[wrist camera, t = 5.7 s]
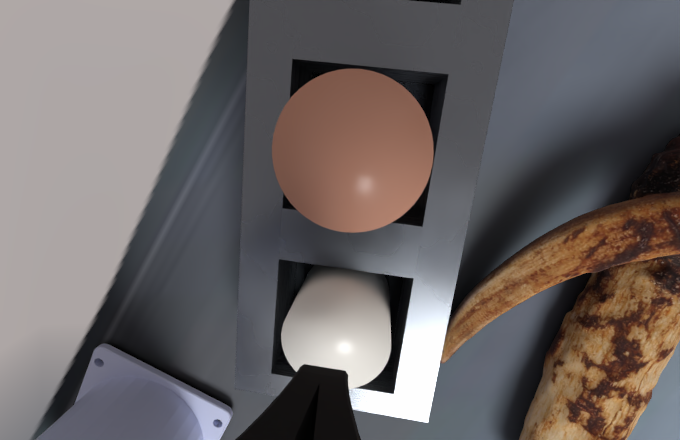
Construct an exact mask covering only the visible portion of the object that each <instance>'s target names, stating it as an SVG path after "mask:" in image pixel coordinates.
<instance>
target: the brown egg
mask: <svg viewBox="0 0 680 440" xmlns="http://www.w3.org/2000/svg"><path fill="white" fill-rule="evenodd" d="M433 155H434V150H433V138H432V132H431V129H430V125H429V122H428V120H427V117H426V115H425V113H424V111H423V109H422V108H421V106H420V105H419V103H418V101H417V100H416V99H415V98H414V97H413V96H412V94H411V93H410V92H409V91H408V90H406V89H405V88H404V87H403V86H402V85H401V84H399V83H398V82H396V81H395V80H393V79H391V78H389V77H387V76H385V75H383V74H380V73H377V72H374V71H370V70H364V69H341V70H336V71H332V72H328V73H325V74H323V75H320V76H318V77H316V78H314V79H313V80H311V81H309V82H308V83H306V84H305V85H304V86H302V87H301V88H300V89H299V90H298V91H297V92H296V93H295V94H294V95H293V96H292V97H291V98H290V100H289V101H288V102H287V104H286V105H285V107H284V108H283V110H282V112H281V114H280V116H279V118H278V121H277V123H276V127H275V130H274V134H273V142H272V159H273V167H274V171H275V174H276V178H277V180H278V183H279V185H280V187H281V189H282V191H283V193H284V194H285V196H286V197H287V199H288V200H289V201H290V203H291V204H292V205H293V206H294V207H295V208H296V209H297V210H298V211H299V212H300V213H301V214H302V215H304V216H305V217H306V218H308V219H309V220H311V221H312V222H314V223H316V224H318V225H320V226H322V227H325V228H328V229H331V230H335V231H340V232H349V233H356V232H366V231H371V230H375V229H378V228H381V227H384V226H386V225H388V224H390V223H392V222H393V221H395V220H397V219H398V218H400V217H401V216H402V215H403V214H405V213H406V212H407V211H408V210H409V209H410V208H411V207H412V206H413V205H414V204H415V202H416V201H417V200H418V198H419V197H420V196H421V194H422V192H423V190H424V188H425V186H426V184H427V182H428V179H429V177H430V173H431V169H432V165H433Z"/></svg>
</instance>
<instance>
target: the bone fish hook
mask: <svg viewBox="0 0 680 440" xmlns="http://www.w3.org/2000/svg"><path fill="white" fill-rule="evenodd" d="M584 273H592V275H591V277H590V278H589V280H588V282H587V284H586V287H585V289H584V290H583V291H582V292H581V293H580V294H579V295H578V297H577V301H576V303H575V305H574V307H573V309H572V310H571V311H570V312H567V313H566V315H565V317H564V320H563V323H562V325H561V328H560V329H559V331H558V333H557V335H556V337H555V338H554V340H553V342H552V344H551V346H550V349H549V350H548V351H547V353H546V356H545V362H544V367H543V376H542V379H541V381H540V383H539V386H538V389H537V391H536V394H535V396H534V399H533V401H532V402H531V405H530V408H529V410H528V413H527V415H526V417H525V421H524V427H523V430H522V432H521V435H520V438H519V440H626V439H627V438H628V437H629V435H630V434H631V432H632V430H633V429H634V427H635V425H636V423H637V421H638V419H639V417H640V416H641V414H642V413H643V412H644V410H645V409H646V407H647V404H648V402H649V401H650V399H651V397H652V389H653V388H654V387H655V385H656V384H657V382H658V379H659V376H660V374H661V372H662V370H663V369H664V368H665V366H666V365H667V363H668V361H669V359H670V358H671V357H672V355H673V353H674V350H675V347H676V346H677V344H678V342H679V340H680V135H679V136H678V137H675V138H673V139H672V140H671V141H670V142H669V143H668V145H667V146H666V148H665V150H664V152H661V153H656V154H654V155H653V157H652V160H651V163H650V164H649V165H648V167H647V168H646V170H645V172H644V173H643V174H642V175H641V176H640V177H639V178H638V179H637V180H636V181H634V182H633V184H632V187H631V193H630V196H629V200H628V201H624V202H620V203H616V204H611V205H608V206H605V207H603V208H600V209H597V210H594V211H591V212H589V213H586V214H583V215H581V216H578V217H576V218H574V219H572V220H570V221H568V222H566V223H564V224H562V225H560V226H558V227H557V228H555V229H553V230H551V231H549V232H547V233H546V234H544V235H542V236H541V237H539V238H537V239H536V240H534V241H533V242H531V243H530V244H528V245H527V246H525V247H524V248H522V249H521V250H519V251H518V252H517V253H515V254H514V255H513V256H511V257H510V258H509V259H507V260H506V261H504V262H503V263H502V264H501V265H500V266H498V267H497V268H496V269H494V270H493V271H492V272H491V273H490V274H488V275H487V276H486V277H485V278H484V279H483V280H481V281H480V282H479V283H478V284H477V285H476V286H475V287H474V288H473V289H472V290H471V291H470V292H469V293H468V294H467V296H466V297H465V298H464V299H463V300H462V302H461V303H460V305H459V306H458V307H457V309H456V310H455V311H454V313H453V315H452V316H451V318H450V320H449V322H448V325H447V330H446V335H445V340H444V345H443V350H442V355H441V360H440V363H445V362H446V361H447V360H448V359H449V358H450V357H451V356H452V355H453V354H454V353H455V352H456V351H457V350H458V349H459V348H460V347H461V346H462V345H463V344H464V343H465V342H466V341H467V340H468V339H470V338H471V337H472V336H474V335H475V334H476V333H477V332H478V331H480V330H481V329H482V328H483V327H485V326H486V325H487V324H488V323H490V322H491V321H493V320H494V319H496V318H497V317H498V316H500V315H502V314H503V313H505V312H506V311H508V310H510V309H511V308H513V307H515V306H516V305H518V304H520V303H521V302H523V301H525V300H527V299H528V298H530V297H532V296H533V295H535V294H537V293H539V292H541V291H543V290H545V289H547V288H549V287H552V286H554V285H556V284H558V283H561V282H563V281H565V280H568V279H571V278H573V277H576V276H579V275H582V274H584Z"/></svg>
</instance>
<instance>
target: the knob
mask: <svg viewBox="0 0 680 440" xmlns="http://www.w3.org/2000/svg"><path fill="white" fill-rule="evenodd" d="M281 342H282V348H283V351H284V354H285V356H286V358H287V360H288V362H289V363H290V365H291V366H292V367H293V369H294V370H295V371H296V372H297V371H298V369H299V368H300V367H301V366H302V365H304V364H307V365H313V366H319V367H325V368H332V369H338V370H344V371H346V373H347V374H348V387H349V389H353V388H357V387H360V386H363V385H365V384H367V383H369V382H370V381H372V380H373V379H375V378H376V377H377V376H378V375H379V374H380V373H381V371H382V370H383V369H384V367H385V366H386V364H387V362H388V359H389V356H390V352H391V319H390V290H389V285H388V282H387V279H386V277H385V275H384V274H379V273H372V272H365V271H358V270H351V269H344V268H337V267H330V266H323V265H316V264H315V265H314V266H313V267H312V268H311V269H310V271H309V272H308V274H307V276H306V278H305V280H304V282H303V284H302V286H301V288H300V290H299V292H298V294H297V296H296V298H295V300H294V302H293V304H292V306H291V308H290V310H289V312H288V314H287V316H286V318H285V321H284V323H283V327H282V332H281Z"/></svg>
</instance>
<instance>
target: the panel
mask: <svg viewBox="0 0 680 440" xmlns="http://www.w3.org/2000/svg"><path fill="white" fill-rule="evenodd" d="M513 2H514V0H448V4H446V3H434V2H422V1H410V0H250V1H249V27H248V53H247V80H246V106H245V132H244V158H243V185H242V211H241V237H240V263H239V290H238V316H237V342H236V368H235V389H238V390H244V391H249V392H255V393H261V394H267V395H272V396H278V395H279V394H280V393H281V392H282V391H283V389H284V388H285V387H286V386H287V384H288V383H289V382H290V381H291V379H292V378H293V376H294V375H295V374H296V371H295V370H294V369H293V367H292V366H291V365H290V363H289V362H288V360H287V358H286V356H285V354H284V351H283V348H282V342H281V332H282V327H283V323H284V321H285V318H286V316H287V314H288V312H289V310H290V308H291V306H292V304H293V302H294V291H295V278H296V266H297V262H302V263H309V264H316V265H323V266H330V267H337V268H344V269H351V270H358V271H365V272H372V273H379V274H386V275H393V276H400V277H403V282H402V288H401V294H400V300H399V306H398V312H397V318H396V325H395V331H394V337H393V343H392V344H391V352H390V356H389V359H388V362H387V364H386V366H385V367H384V369H383V370H382V371H381V373H380V374H379V375H378V376H377V377H376V378H375V379H373V380H372V381H370V382H369V383H367V384H365V385H363V386H360V387H357V388H353V389H349V395H350V400H351V405H352V409H353V410H359V411H365V412H370V413H376V414H382V415H388V416H393V417H399V418H405V419H411V420H416V421H422V422H428V419H429V414H430V409H431V404H432V399H433V394H434V389H435V384H436V379H437V375H438V370H439V365H440V360H441V355H442V350H443V345H444V340H445V335H446V330H447V325H448V321H449V316H450V311H451V306H452V301H453V296H454V291H455V286H456V281H457V276H458V271H459V267H460V262H461V257H462V252H463V247H464V242H465V237H466V232H467V227H468V222H469V218H470V213H471V208H472V203H473V198H474V193H475V188H476V183H477V178H478V173H479V168H480V164H481V159H482V154H483V149H484V144H485V139H486V134H487V129H488V124H489V119H490V114H491V110H492V105H493V100H494V95H495V90H496V85H497V80H498V75H499V70H500V65H501V61H502V56H503V51H504V46H505V41H506V36H507V31H508V26H509V21H510V16H511V11H512V7H513ZM341 69H364V70H370V71H374V72H377V73H380V74H383V75H385V76H387V77H389V78H391V79H393V80H396V81H406V82H416V83H426V84H435V85H434V91H433V97H432V103H431V109H430V116H429V125H430V129H431V132H432V138H433V150H434V155H433V165H432V169H431V173H430V177H429V179H428V182H427V184H426V186H425V188H424V190H423V192H422V194H421V196H420V197H419V198H418V200H417V201H416V202H415V205H413V206H412V207H411V208H410V209H409V210H408V211H407V212H406V213H405V214H403V215H402V216H401V217H400V218H398V219H397V220H395V221H393V222H392V223H390V224H388V225H386V226H384V227H381V228H378V229H375V230H371V231H366V232H356V233H349V232H340V231H335V230H331V229H328V228H325V227H322V226H320V225H318V224H316V223H314V222H312V221H311V220H309V219H308V218H306V217H305V216H304V215H302V214H301V213H300V212H299V211H298V210H297V209H296V208H295V207H294V206H293V205H292V204H291V203H290V201H289V200H288V199H287V197H286V196H285V194H284V193H283V191H282V189H281V187H280V185H279V183H278V180H277V178H276V174H275V171H274V167H273V159H272V142H273V134H274V130H275V127H276V123H277V121H278V118H279V116H280V114H281V112H282V110H283V108H284V107H285V105H286V104H287V102H288V101H289V100H290V98H291V97H292V96H293V95H294V94H295V93H296V92H297V91H298V90H299V89H300V88H301V87H302V86H304V85H305V84H306V83H308V82H309V81H311V80H312V72H317V73H328V72H332V71H336V70H341Z"/></svg>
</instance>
